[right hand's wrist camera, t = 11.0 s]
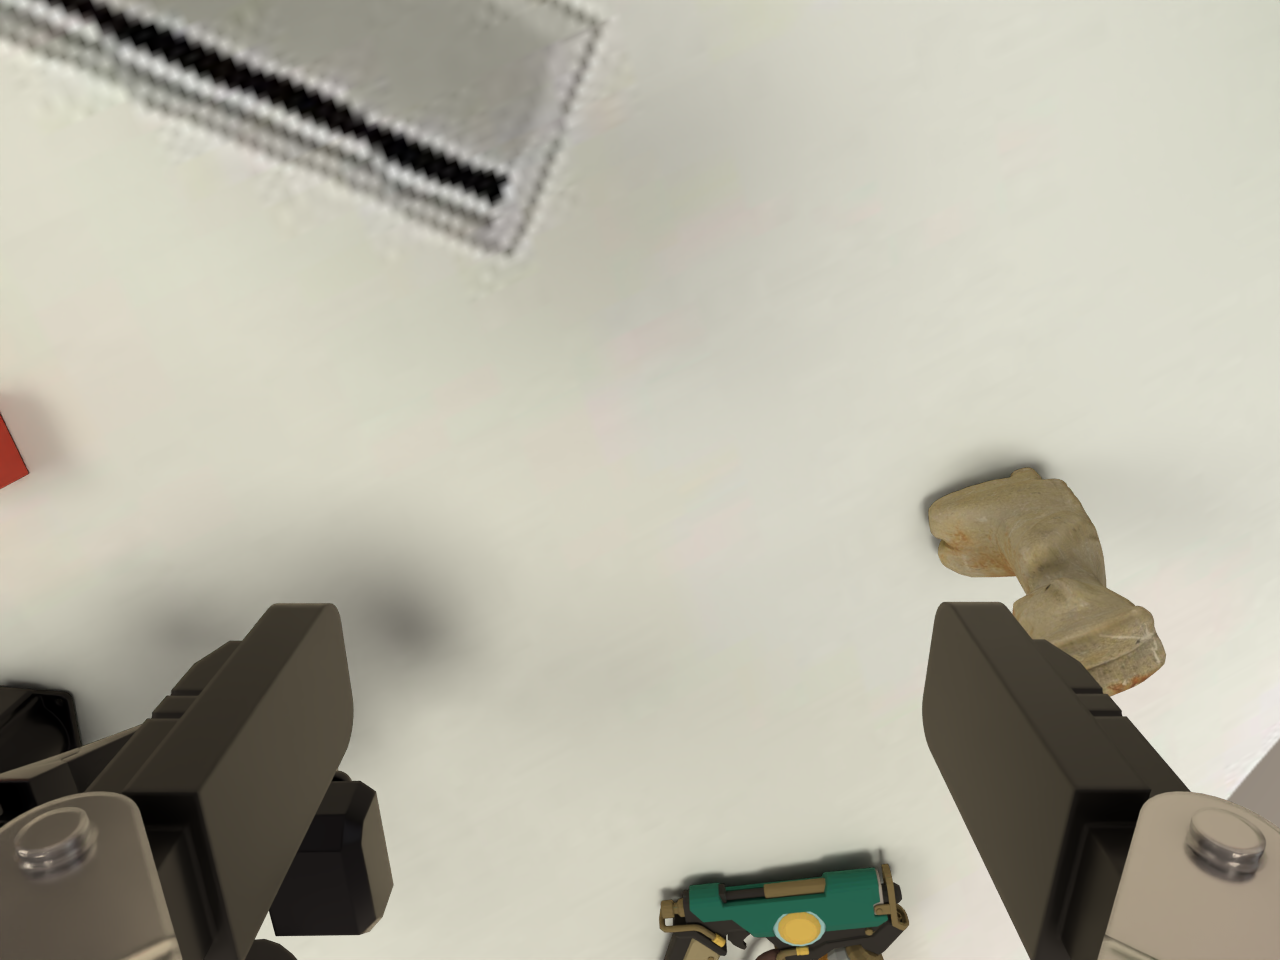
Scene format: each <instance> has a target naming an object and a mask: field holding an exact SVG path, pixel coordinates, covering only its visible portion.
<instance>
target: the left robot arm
mask: <svg viewBox="0 0 1280 960" xmlns="http://www.w3.org/2000/svg"><path fill="white" fill-rule="evenodd" d="M61 699H62V700H63V701H62V700H61ZM141 725H142V724H141ZM141 725H138V726H136V727H133V728H130V729H128V730H125V731H122V732H119V733H117V734H114V735H111V736H109V737H106V738H103V739H101V740H98V741H95V742H92V743H90V744H87V745H84V746H82V747H81V743H80V738H79V732H78V727H77V722H76V716H75V711H74V706H73V700H72V697H71V696H70V695H69V694H68V693H66V692H62V691H48V690H35V689H22V688H9V687H0V828H1V827H3V826H4V825H5V824H7V823H8V822H10V821H11V820H13V819H15V818H16V817H18V816H20V815H21V814H23V813H25V812H27V811H29V810H31V809H33V808H35V807H37V806H40V805H42V804H45V803H47V802H50V801H53V800H56V799H59V798H62V797H65V796H70V795H74V794H78V793H84V791H85V790H86V789H87V788H88V787H89V786H90V784H91V783H92V782H93V781H94V780H95V779H96V778H97V776H98V775H99V774H100V773H101V772H102V771H103V769H104V768H105V767H106V766H107V765H108V764H109V762H110V761H111V760H112V759H113V758H114V757H115V755H116V754H117V753H118V752H119V751H120V750H121V748H122V747H123V746H124V745H125V744H126V743H127V741H128V740H129V739H130V738H131V737H132V736H133V734H134V733H135V732H136V731H137V730H138V729H139V727H140V726H141ZM392 888H393V879H392V874H391V869H390V863H389V858H388V853H387V847H386V842H385V837H384V831H383V826H382V821H381V816H380V810H379V805H378V800H377V794H376V791H374V790H373V789H371V788H370V787H369V786H367V785H366V784H364V783H363V782H361V781H352V780H351V778H350V777H349V776H348V775H347V774H346V773H344V772H342V771H338V769H337V771H336V773H335V775H334V777H333V779H332V781H331V783H330V785H329V787H328V789H327V791H326V793H325V795H324V797H323V799H322V802H321V804H320V806H319V808H318V810H317V812H316V814H315V816H314V818H313V820H312V822H311V824H310V826H309V828H308V830H307V832H306V834H305V837H304V839H303V841H302V843H301V845H300V847H299V849H298V851H297V853H296V855H295V857H294V859H293V861H292V863H291V865H290V867H289V869H288V872H287V874H286V876H285V878H284V880H283V882H282V884H281V886H280V888H279V890H278V892H277V894H276V896H275V898H274V900H273V902H272V904H271V907H270V909H269V913H270V917H271V920H272V924H273V928H274V932H275V935H276V936H320V935H360V934H364V933H367V932H370V930H371V929H372V928H373V927H374V926H375V925H376V924H377V923H378V921H379V920H380V919H381V918H382V917H383V914H384V911H385V908H386V905H387V902H388V900H389V897H390V894H391V891H392ZM245 960H297V959H296V958H295V956H294V955H293V954H292V953H290V952H289V951H288V950H287V949H285V948H284V947H283V946H282V945H280V944H278V943H275V942H272V941H269V940H266V939H258V940H254V942H253V944H252V946H251V948H250V950H249V952H248V954H247V956H246V958H245Z"/></svg>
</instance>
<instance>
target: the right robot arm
mask: <svg viewBox="0 0 1280 960" xmlns="http://www.w3.org/2000/svg"><path fill="white" fill-rule="evenodd" d="M171 691H172V693H171V696H166V697H165V698H164V700H163V701H162V702H161V703H160V704H159V705H158V707H157V708H156V709H155V710H154V711H153V712H152V718H151V719H146V721H145V722H144V723H143V724H142V725H141V726H140V727H139V729H138V730H137V731H136V732H135V733H134V734H133V736H132V737H131V738H130V739H129V740H128V741H127V743H126V744H125V745H124V746H123V747H122V748H121V750H120V751H119V752H118V753H117V754H116V755H115V757H114V758H113V759H112V760H111V761H110V762H109V764H108V765H107V766H106V767H105V768H104V769H103V771H102V772H101V773H100V774H99V775H98V776H97V778H96V779H95V780H94V781H93V782H92V783H91V784H90V786H89V787H88V788H87V789H86V790H85V791H84V793H78V794H74V795H70V796H65V797H62V798H59V799H56V800H53V801H50V802H47V803H45V804H42V805H40V806H37V807H35V808H33V809H31V810H29V811H27V812H25V813H23V814H21V815H20V816H18V817H16V818H15V819H13V820H11V821H10V822H8V823H7V824H5V825H4V826H3V827H1V828H0V960H245V958H246V956H247V954H248V952H249V950H250V948H251V946H252V944H253V942H254V940H255V937H256V935H257V933H258V931H259V929H260V927H261V925H262V923H263V921H264V919H265V917H266V915H267V913H268V911H269V909H270V907H271V904H272V902H273V900H274V898H275V896H276V894H277V892H278V890H279V888H280V886H281V884H282V882H283V880H284V878H285V876H286V874H287V872H288V869H289V867H290V865H291V863H292V861H293V859H294V857H295V855H296V853H297V851H298V849H299V847H300V845H301V843H302V841H303V839H304V837H305V834H306V832H307V830H308V828H309V826H310V824H311V822H312V820H313V818H314V816H315V814H316V812H317V810H318V808H319V806H320V804H321V802H322V799H323V797H324V795H325V793H326V791H327V789H328V787H329V785H330V783H331V781H332V779H333V777H334V775H335V773H336V771H337V769H338V766H339V764H340V762H341V760H342V758H343V756H344V754H345V752H346V750H347V747H348V744H349V741H350V737H351V732H352V726H353V698H352V691H351V684H350V678H349V671H348V665H347V658H346V651H345V645H344V638H343V631H342V625H341V619H340V615H339V612H338V610H337V608H336V607H335V605H333V604H331V603H277V604H273V605H272V606H270V607H269V608H268V610H267V611H266V612H265V613H264V615H263V616H262V617H261V618H260V619H259V621H258V622H257V623H256V624H255V626H254V627H253V628H252V629H251V631H250V632H249V633H248V634H247V636H246V637H245V638H244V639H243V641H229V642H227V643H226V644H224V645H223V646H221V647H220V648H218V649H217V650H215V651H213V652H212V653H210V654H209V655H207V656H206V657H204V658H202V659H201V660H199V661H198V662H196V663H195V664H194V665H193V666H192V667H191V668H190V669H189V671H188V672H187V673H186V674H185V675H184V676H183V677H182V679H181V680H180V681H179V682H178V683H177V684H176V686H175V687H174V688H173V689H172V690H171ZM922 716H923V726H924V732H925V737H926V741H927V744H928V747H929V749H930V751H931V753H932V755H933V757H934V760H935V762H936V764H937V766H938V768H939V770H940V772H941V774H942V776H943V778H944V780H945V782H946V785H947V787H948V789H949V791H950V793H951V795H952V797H953V799H954V801H955V803H956V805H957V807H958V810H959V812H960V814H961V816H962V818H963V820H964V822H965V824H966V826H967V828H968V830H969V833H970V835H971V837H972V839H973V841H974V843H975V845H976V847H977V849H978V851H979V853H980V855H981V858H982V860H983V862H984V864H985V866H986V868H987V870H988V872H989V874H990V876H991V878H992V880H993V883H994V885H995V887H996V889H997V891H998V893H999V895H1000V897H1001V899H1002V901H1003V903H1004V905H1005V908H1006V910H1007V912H1008V914H1009V916H1010V918H1011V920H1012V922H1013V924H1014V926H1015V928H1016V931H1017V933H1018V935H1019V937H1020V939H1021V941H1022V943H1023V945H1024V947H1025V949H1026V951H1027V953H1028V956H1029V958H1030V960H1280V828H1279V827H1277V826H1276V825H1275V824H1273V823H1272V822H1270V821H1268V820H1267V819H1265V818H1264V817H1262V816H1260V815H1259V814H1257V813H1255V812H1253V811H1251V810H1249V809H1247V808H1245V807H1243V806H1240V805H1238V804H1235V803H1233V802H1230V801H1227V800H1224V799H1221V798H1218V797H1215V796H1210V795H1206V794H1202V793H1194V792H1191V791H1190V790H1189V789H1188V788H1187V787H1186V786H1185V784H1184V783H1183V782H1182V781H1181V780H1180V779H1179V777H1178V776H1177V775H1176V774H1175V773H1174V772H1173V770H1172V769H1171V768H1170V767H1169V766H1168V764H1167V763H1166V762H1165V761H1164V760H1163V759H1162V757H1161V756H1160V755H1159V754H1158V753H1157V752H1156V750H1155V749H1154V748H1153V747H1152V746H1151V745H1150V743H1149V742H1148V741H1147V740H1146V739H1145V737H1144V736H1143V735H1142V734H1141V733H1140V732H1139V730H1138V729H1137V728H1136V727H1135V726H1134V725H1133V723H1132V722H1131V721H1130V720H1129V719H1128V718H1127V716H1122V710H1121V709H1120V708H1119V707H1118V706H1117V705H1116V703H1115V702H1114V701H1113V700H1112V699H1111V698H1110V696H1109V695H1108V694H1103V688H1102V687H1101V686H1100V685H1099V683H1098V682H1097V681H1096V680H1095V679H1094V678H1093V676H1092V675H1091V674H1090V673H1089V672H1088V671H1087V669H1086V668H1085V667H1084V666H1083V665H1082V664H1081V662H1079V661H1078V660H1076V659H1075V658H1073V657H1072V656H1070V655H1069V654H1067V653H1065V652H1064V651H1062V650H1061V649H1059V648H1058V647H1056V646H1055V645H1053V644H1051V643H1050V642H1048V641H1047V640H1045V639H1032V638H1031V637H1030V636H1029V635H1028V633H1027V632H1026V631H1025V629H1024V628H1023V627H1022V626H1021V624H1020V623H1019V622H1018V621H1017V619H1016V618H1015V617H1014V616H1013V614H1012V613H1011V612H1010V611H1009V609H1008V608H1007V607H1006V606H1005V605H1004V604H1003V603H1001V602H943V603H942V604H940V606H939V607H938V609H937V612H936V615H935V620H934V627H933V633H932V640H931V647H930V654H929V660H928V667H927V674H926V681H925V687H924V694H923V702H922Z"/></svg>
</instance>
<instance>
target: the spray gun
mask: <svg viewBox="0 0 1280 960" xmlns="http://www.w3.org/2000/svg"><path fill="white" fill-rule="evenodd" d="M881 867H882V874H883V882H884V883H883V884H881V881H880V877H879V873H878V870H877V869H876V870H875V868H874V867H872V868H862V869H852V870H843V871H833V872H824V873H823V874H822V877H814V878H805V879H795V880H786V881H777V882H768V883H759V884H750V885H741V886H732V887H725V884H720V883H709V884H699V885H690V886H689V890H684V891H683V898H681V899H679V900H678V901H677V903H674V901H673V900H664V901H662V902H661V909H660V916H659V924H660V929H661V930H662V931H664V932H673V935H672V938H671V941H670V944H669V946H668V949H667V952H666V955H665V958H664V960H718V959H719V957H720V955H721V956H725V955H726V953H727V946H726V935H727V934H728V940H730V941H731V942H732V944H733V945H735V946H737V947H739V948H741V949H745V948H746V947H747V946H746V943H745V942H744V941H743V940H744V939H745V938H746V937H747V936H748V935H750V934H751V935H753V936H754V937H766V938H767V939H768V940H769V941H771V942H772V943H773V944H774V946H775V949H772V950H769V951H767V952H764V953H763V954H761V955H760V956H758V957H757V958H756V960H818V959H819V960H884V959H883V957H882V954H881V953H883V952H884V951H885V950H886V949H887V948H888V947H889V946H890V945H891V944H892V943H893V942H894V940H895V939H896V938H897V937H898V936H899V935H900V934H901V933H902V932H903V931H904V930H905V929H906V928H907V927H908V926H909V920H908V917H907V914H906V912H905V910H904V909H903V908H902V907H901V906H900V905H898V904H897V903H899V902H900V901H901V900H902V895H901V890H900V886H899V885H897V884H896V883H894V882H893V880H892V876H891V872H890V868H889V865H888V864H882V865H881ZM665 918H673V926H666V925H665Z"/></svg>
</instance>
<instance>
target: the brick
mask: <svg viewBox="0 0 1280 960" xmlns="http://www.w3.org/2000/svg"><path fill="white" fill-rule="evenodd" d="M27 474H28V471H27V469H26V467H25V465H24V463H23V461H22V459H21V457H20V455H19V452H18V450H17V448H16V446H15V444H14V442H13V440H12V438H11V436H10V434H9V432H8V430H7V428H6V426H5V424H4V422H3V420H2V417H1V415H0V489H1V488H3V487H5V486H7V485H9V484H11V483H13V482H14V481H16V480H18V479H20V478H22V477H24V476H26V475H27Z"/></svg>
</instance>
